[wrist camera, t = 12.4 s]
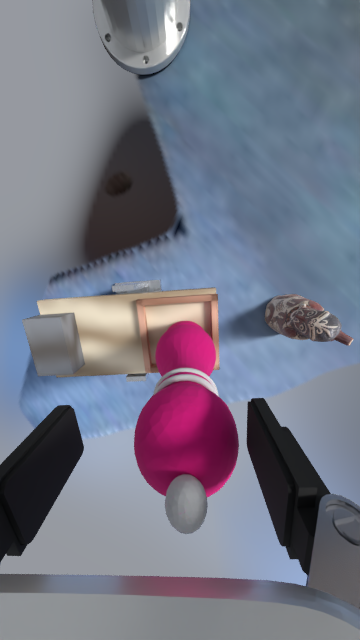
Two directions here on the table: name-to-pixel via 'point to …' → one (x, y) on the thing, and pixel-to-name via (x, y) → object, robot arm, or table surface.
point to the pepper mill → (186, 428)
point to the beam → (113, 330)
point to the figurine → (303, 320)
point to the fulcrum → (137, 288)
